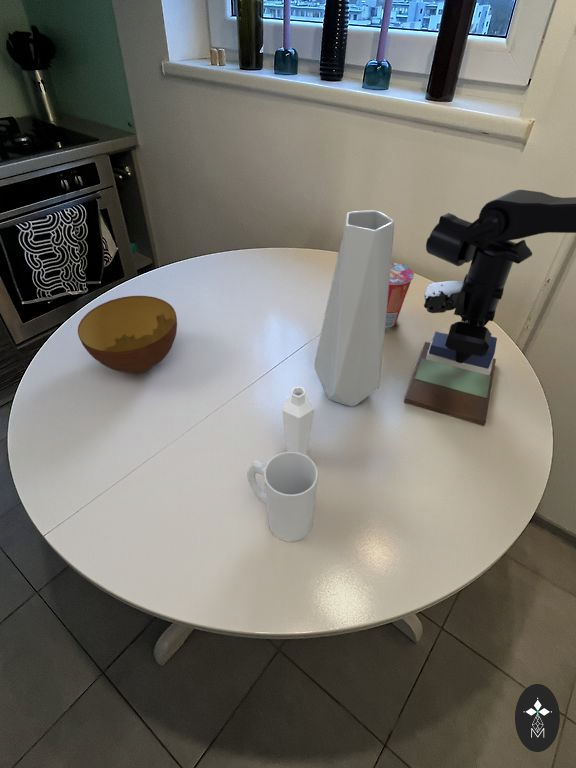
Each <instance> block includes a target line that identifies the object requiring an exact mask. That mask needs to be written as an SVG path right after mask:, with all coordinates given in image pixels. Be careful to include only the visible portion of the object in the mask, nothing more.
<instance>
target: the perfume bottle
mask: <svg viewBox="0 0 576 768" xmlns="http://www.w3.org/2000/svg"><path fill="white" fill-rule="evenodd" d="M281 411H282V419H283V427H284V437H285V445H286V446H285V447H286V452H298V453H302V454H304V455H306V456H308V457H309V454H308V451H309V444H310V438H311V432H312V425H313V420H314V419H313V418H314V414H315V406H314V405H313V403H312V401H311V400H310V397H309V396H308V395H307V392H306V390H305V388H304V386H293V387H292V388H291V391H290V395H286V397H285V400H284V404H283V406H282V409H281Z"/></svg>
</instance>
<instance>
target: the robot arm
mask: <svg viewBox="0 0 576 768" xmlns="http://www.w3.org/2000/svg"><path fill="white" fill-rule="evenodd" d="M550 233H551V234H556V233H557V234H576V196H572V197H569V196H568V197H561V196H554V195H551V194H547V193H545V192H542V191H534V190H527V189H516V190H511V191H510V192H507V193H506V194H503V195H501V196H499V197H497V198H494V199H492V200H489V201H488V202H486V203H485V204H484V205H483V206H482V208H481V209H480V212H479V214H478V218H477V219H476V220H474V221H473V222H471V221H468V220H465V219H462V218H460V217H458V216H456V215H455V214H453V213H450V212H447V213H444V214H443V215H440V216H439V220H438V223H437V224H436V225H435V226H434V227H433V229H432V231H431V232H430V234H429V237H427V239H426V243H425V251H426V252H427V254H429V255H431V256H434V257H436V258H438V259H441V260H443V261H445V262H447V263H449V264H451V265H453V266H456V267H461V266H463V265H464V264H466V263H467V264H468V263H470V262H471V263H470V265H469V269H468V272H467V273H465V276H464V279H463V280H445V281H436V282H431V283H429V284H428V285H427V287H426V289H425V292H424V294H423V295H424V304H423V307H424V308H425V309H426V311H427V313H429V314H442V313H446V312H447V311H453V310H454V312H453V315H455V316H459V317H460V318H461V320H460V321H456V322H454V323H452V324H451V325H450V327H449V330H448V333H447V334H448V337H447V340H446V344H445V346H446V347H447V348H448V349H452V350H456V362H458V363H463V362H464V361H466V360H467V359H468V358H469V357H470V356H472V355H476V356H480V357H482V356H486V353H487V351H488V348H489V345H490V340H491V336H492V332H491V331H490V330H489V329H488V327H487V326H486V325H487V324H488V323H489V322H493V321H494V320H495V319H494V318H495V314H496V310H497V307H498V304H499V301H500V300H502V297H503V295H504V289H505V285H506V283H507V281H508V277H509V275H510V272H511V269H512V267H513V264H514V263H515V264H518V265H519V264H520V263H522V262H524V261H526V260H527V259H529V258H531V257H532V256H533V252H532V250H531V249H530V247H529V246H528V245H527V242H526V240H525V238H528V237H531V236H537V235H542V234H550ZM521 239H522V240H521ZM514 240H515V241H516V240H520V241H518V242H515V241H514Z"/></svg>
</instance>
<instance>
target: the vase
mask: <svg viewBox="0 0 576 768" xmlns="http://www.w3.org/2000/svg"><path fill="white" fill-rule="evenodd" d="M394 234H395V221H394V220H393V219H392V218H391V217H389V216H388V215H386V214H384V213H383V212H381V211H379V210H375V209H374V210H370V209H369V210H357V211H356V210H355V211H349V212H347V213H346V216H345V220H344V225H343V230H342V234H341V239H340V243H339V247H338V251H337V256H336V260H335V261H336V262H335V266H334V271H333V275H332V280H331V284H330V289H329V294H328V298H327V303H326V308H325V312H324V316H323V321H322V325H321V331H320V336H319V339H318V344H317V350H316V354H315V357H314V363H313V366H314V371H315V373H316V376H317V377H318V379H319V382H320V383H321V386H322V388H323V390H324V392H325V394H326V396H327V398H328V399H329V400H330V401H334V402H336V403H339V404H342V405H345V406H348V407H356V406H357V405H359V404H360V403H361V402H362V401H364V400H365V399H367V398H368V397H369V396H371V394H373V393H374V392H376V391H377V390H378V389H379V388H380V385H381V374H382V365H383V353H384V343H385V335H386V334H385V332H386V328H385V323H386V312H387V302H388V291H389V280H390V269H391V263H392V257H393V247H394V246H393V245H394V236H395V235H394Z"/></svg>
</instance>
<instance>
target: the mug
mask: <svg viewBox="0 0 576 768" xmlns="http://www.w3.org/2000/svg"><path fill="white" fill-rule="evenodd" d="M256 474H259V475H261V476H262V477H263V478H264V489H263V487H262V486H260V484H259V483H258V481H257V478H256ZM246 477H247V482H248V484H249V486H250V489H251V490H252V493H253V494H254V497H255V498H256V499H257V500H258V501H260V502H262V503H264V504H265V505H266V508H267V509H266V510H267V518H268V525H269V528H270V531H271V533H272V534H273V535H274V536H275V537H276V538H278V539H279V540H281V541H284V542H288V543H294V542H298V541H302V540H303V539H305V537H307V536H308V535H309V534H310V532H311V530H312V527H313V524H314V515H315V508H316V507H315V506H316V497H317V487H318V477H319V470H318V467H317V465H316V463H315V462H314V461H313V459H312V458H310V457H309V455H308V456H306V455H304V454H302V453H298V452H287V451H284V452H280V453H277V454H276V455H274V456H272V457H271V458H270V459H269V460H268V461H267V462H266V464H264V463H263V462H262V461H259V460H257V459H254V460H253V462H252V463H251V466H250V467H249V468H248V470H247V476H246Z"/></svg>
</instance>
